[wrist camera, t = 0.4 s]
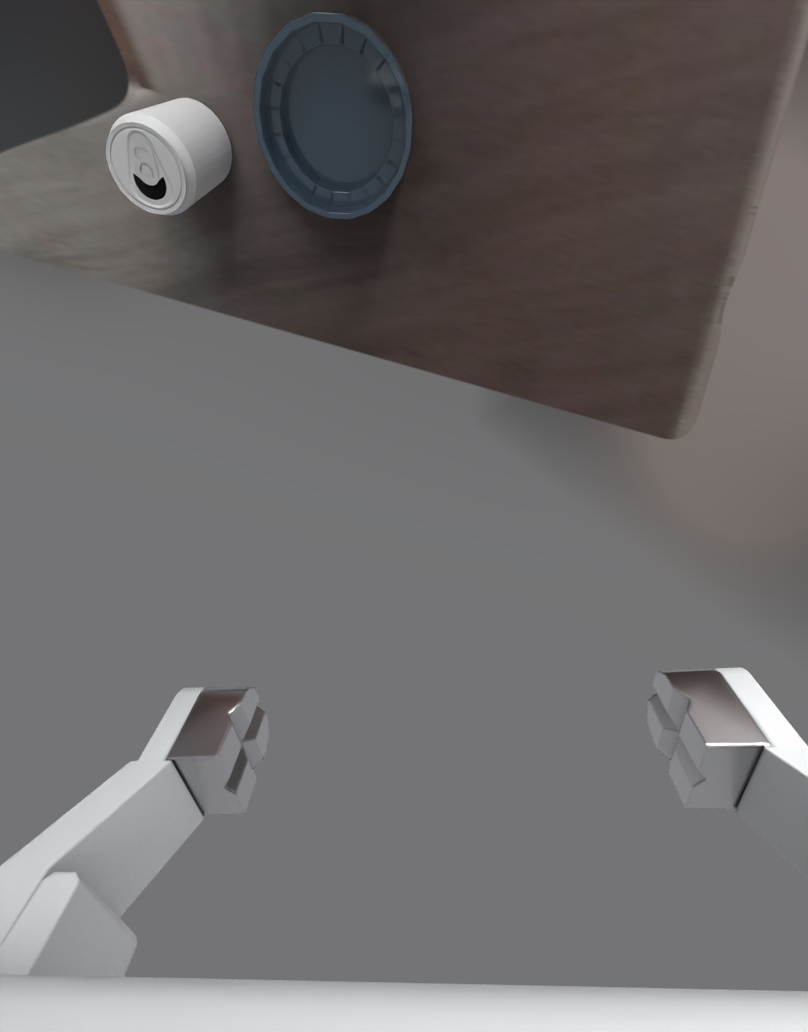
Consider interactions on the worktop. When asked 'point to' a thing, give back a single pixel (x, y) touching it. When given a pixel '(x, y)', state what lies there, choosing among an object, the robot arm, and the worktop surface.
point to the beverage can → (168, 155)
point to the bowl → (333, 114)
